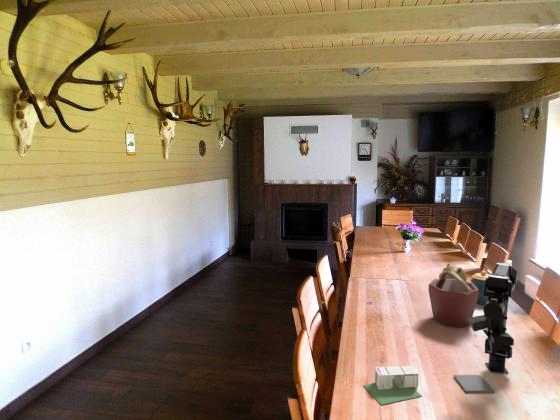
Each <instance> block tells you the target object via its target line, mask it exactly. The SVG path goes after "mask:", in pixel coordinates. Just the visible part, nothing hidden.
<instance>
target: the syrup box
mask: <svg viewBox="0 0 560 420" xmlns="http://www.w3.org/2000/svg"><path fill="white" fill-rule="evenodd" d="M374 383H376V385H377V387H378V389H380V390H382V389H404V388H414V389H417V388H418V387H419V372H418V371H417V369H416V368H415V366H414V365H405V366H402V365H401V366H377V367H374Z"/></svg>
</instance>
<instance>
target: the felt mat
mask: <svg viewBox="0 0 560 420" xmlns="http://www.w3.org/2000/svg"><path fill="white" fill-rule="evenodd" d="M363 387H364V388H365V389H366V391H368V392H369V394H371V396H372V397H373V398H374V399H375V400H376V401H377V402H378V404H379V405H380V406H385V405H391V404H394V403H398V402H403V401H407V400H412V399H417V398H420V397H422V395H423V394H421V393H420V392H418V391H417V390H416V388H404V389H382V390H380V389H378V387H377V385H376V383H375V382H373V383H368V384H364V385H363Z"/></svg>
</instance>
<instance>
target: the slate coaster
mask: <svg viewBox="0 0 560 420" xmlns="http://www.w3.org/2000/svg"><path fill="white" fill-rule="evenodd" d="M453 378H454V380H456V382H457V383H458V385H459V386H460V387H461V389H463V391H464V393H466V394H468V393H471V394H473V393H474V394H475V393H476V394H477V393H478V394H479V393H482V394H483V393H484V394H486V393H489V394H490V393H493V394H494V393H495V389H494V388H493V387H492V386H491V385H490V384H489V383H488V381H487V380H485V378H484V377H483V376H482V375H481V374H453Z"/></svg>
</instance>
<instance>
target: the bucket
mask: <svg viewBox="0 0 560 420" xmlns="http://www.w3.org/2000/svg"><path fill="white" fill-rule="evenodd" d="M441 273H442V272H441ZM448 274H451V275H452V276H453V277H454V278H455V279H446V276H447V275H448ZM428 295H429V302H430V305H431V306H430V308H431V313H432V317H433V318H432V319H433V321H435V322H437V323H438V324H440V325H441V326H442V327H450V328H455V329H456V328H457V329H461V328H465V327H468V326H470V323H469V320H468V319H469V318H472V317H474V313H475V309H476V306H477V304H478V303H477V299H478V296H479V290H478V288H477V287H476V286H475V285H474V284H473V283H471V282H469V281H466V282H465V281H463V280H462V279H461V278H460V277H459V276H458V275H457V274H456V273H455V272H453V271H451V272H444V273H442V274H441V276H440V279H439V278H434V279H433V280H432V281H431V282H429V283H428Z"/></svg>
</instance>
